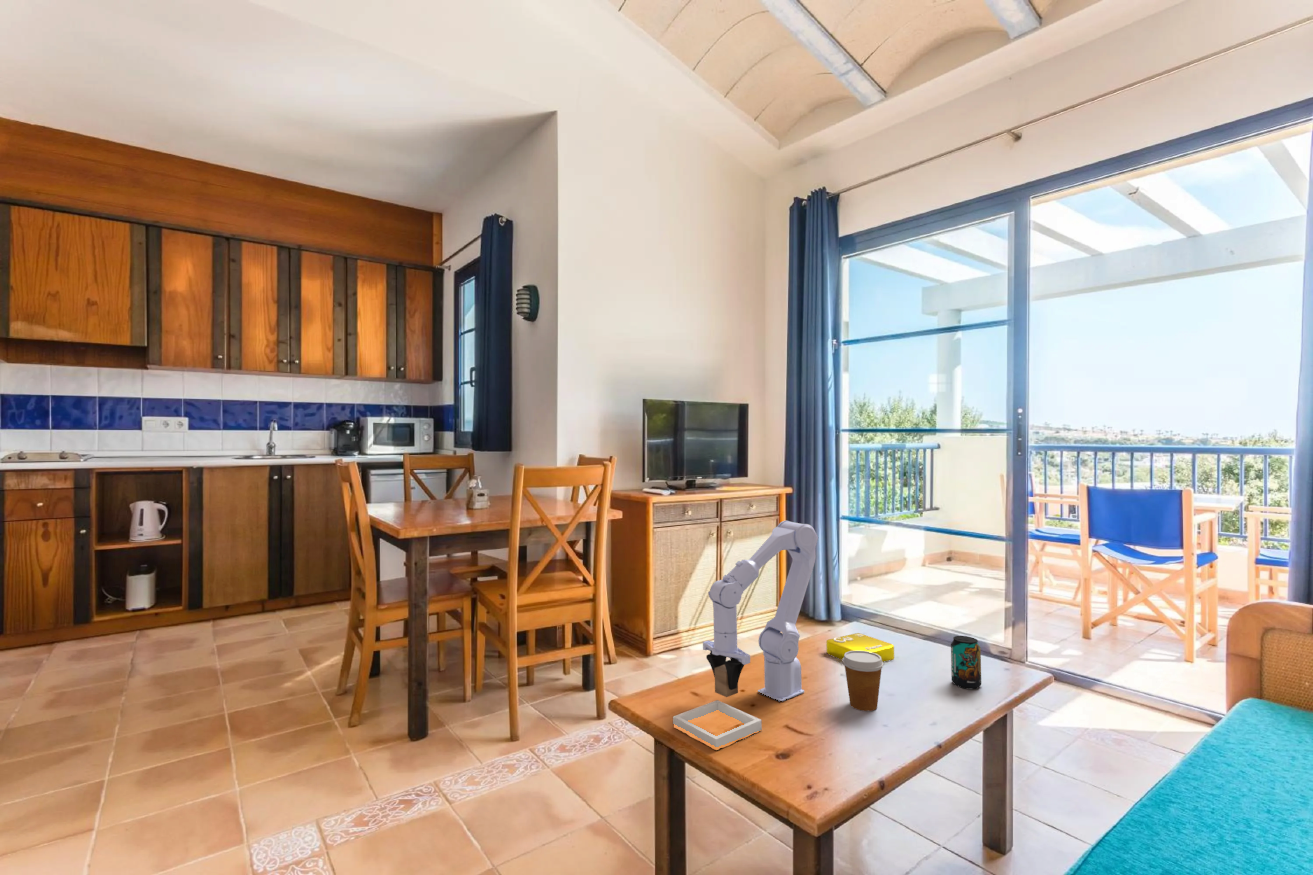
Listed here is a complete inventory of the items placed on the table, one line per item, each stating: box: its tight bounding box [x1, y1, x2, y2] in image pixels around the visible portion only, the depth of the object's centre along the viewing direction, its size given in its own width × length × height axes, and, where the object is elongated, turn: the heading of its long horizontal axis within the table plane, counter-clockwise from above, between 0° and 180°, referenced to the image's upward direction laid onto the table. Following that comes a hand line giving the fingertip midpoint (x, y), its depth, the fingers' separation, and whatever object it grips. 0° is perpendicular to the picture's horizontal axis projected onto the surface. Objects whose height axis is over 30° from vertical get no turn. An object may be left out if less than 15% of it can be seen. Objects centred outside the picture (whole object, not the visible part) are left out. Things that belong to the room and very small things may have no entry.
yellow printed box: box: [825, 632, 895, 663], centre depth 183 cm, size 15×15×5 cm
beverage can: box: [950, 635, 982, 690], centre depth 160 cm, size 7×7×12 cm
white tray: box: [672, 699, 763, 747], centre depth 136 cm, size 14×14×2 cm
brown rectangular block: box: [714, 665, 739, 698], centre depth 149 cm, size 4×4×6 cm
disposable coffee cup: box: [841, 650, 885, 712], centre depth 148 cm, size 10×10×12 cm
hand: (726, 685), depth 149 cm, fingers closed on brown rectangular block, 4 cm apart
